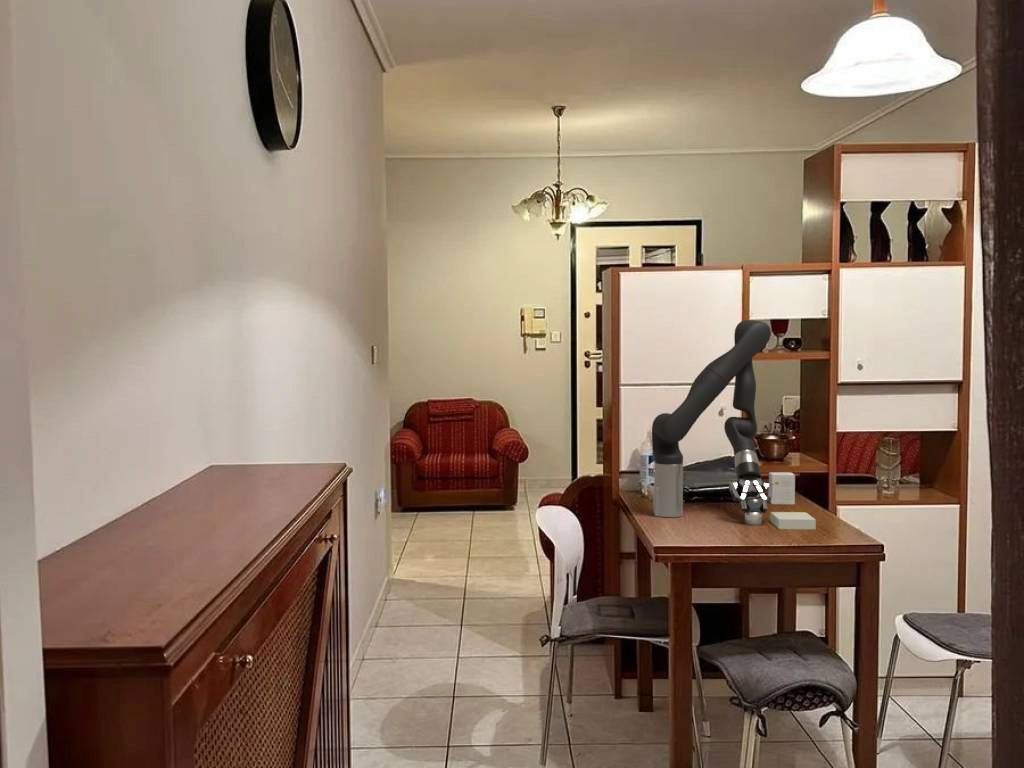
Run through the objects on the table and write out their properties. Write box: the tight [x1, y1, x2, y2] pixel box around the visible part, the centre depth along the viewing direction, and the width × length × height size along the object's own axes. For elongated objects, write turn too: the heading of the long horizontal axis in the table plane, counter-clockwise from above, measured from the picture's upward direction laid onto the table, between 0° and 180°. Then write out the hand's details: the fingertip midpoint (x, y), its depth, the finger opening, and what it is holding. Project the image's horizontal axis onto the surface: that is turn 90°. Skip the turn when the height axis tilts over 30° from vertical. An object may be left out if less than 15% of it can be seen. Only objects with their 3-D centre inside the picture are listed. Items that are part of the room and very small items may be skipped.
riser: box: [769, 511, 817, 530], centre depth 281 cm, size 11×11×3 cm
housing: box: [744, 496, 763, 526], centre depth 283 cm, size 5×5×8 cm
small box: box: [768, 471, 796, 506], centre depth 317 cm, size 8×6×10 cm
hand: (754, 511), depth 281 cm, fingers closed on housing, 5 cm apart
